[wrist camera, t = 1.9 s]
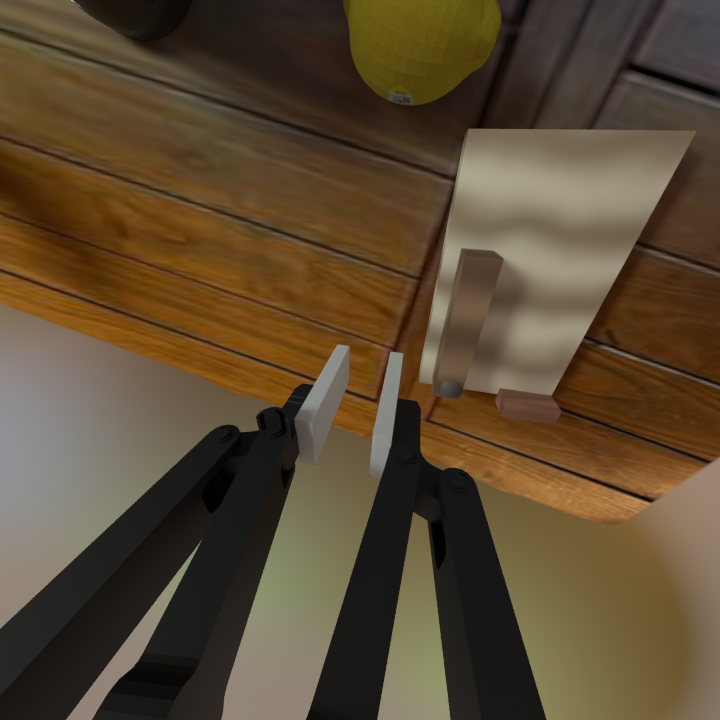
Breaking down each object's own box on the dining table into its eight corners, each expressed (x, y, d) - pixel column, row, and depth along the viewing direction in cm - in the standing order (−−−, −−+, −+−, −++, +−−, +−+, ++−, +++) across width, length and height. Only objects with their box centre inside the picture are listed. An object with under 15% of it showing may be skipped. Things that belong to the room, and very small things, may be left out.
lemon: (341, 84, 24) (309, 41, 17) (378, -55, 19) (355, -184, 13) (447, 143, 24) (456, 123, 18) (507, 20, 20) (548, -67, 13)
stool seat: (464, 134, 24) (474, 120, 19) (670, 136, 21) (737, 121, 17) (417, 377, 38) (417, 402, 34) (537, 395, 36) (554, 424, 31)
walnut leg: (456, 379, 34) (460, 403, 30) (432, 376, 34) (433, 398, 31) (493, 250, 26) (505, 260, 22) (461, 248, 26) (467, 257, 22)
